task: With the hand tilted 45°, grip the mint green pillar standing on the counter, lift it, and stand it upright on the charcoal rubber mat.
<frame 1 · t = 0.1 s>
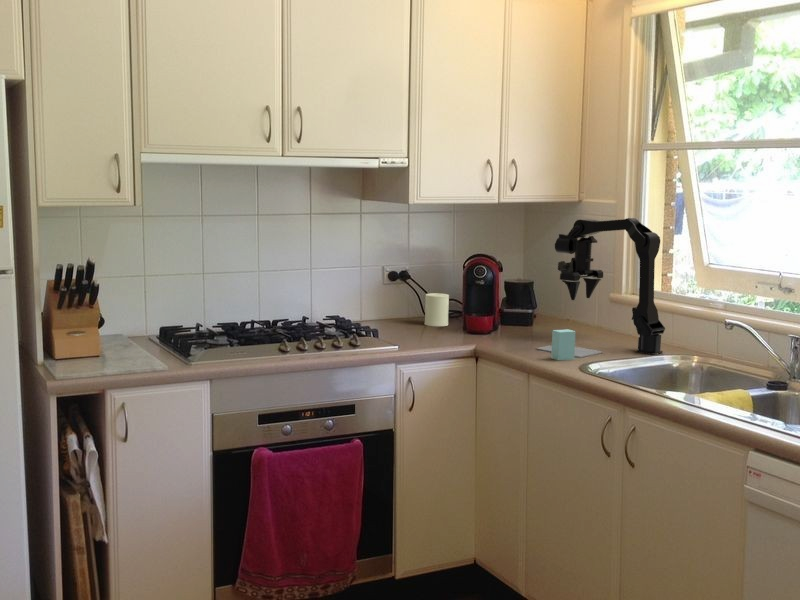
hand: (580, 299, 320), 15 cm above the table, tool pointing down, fingers open, 9 cm apart
placemat: (569, 351, 301), on the table
can: (436, 324, 349), on the table
mint green pillar: (562, 358, 289), on the table
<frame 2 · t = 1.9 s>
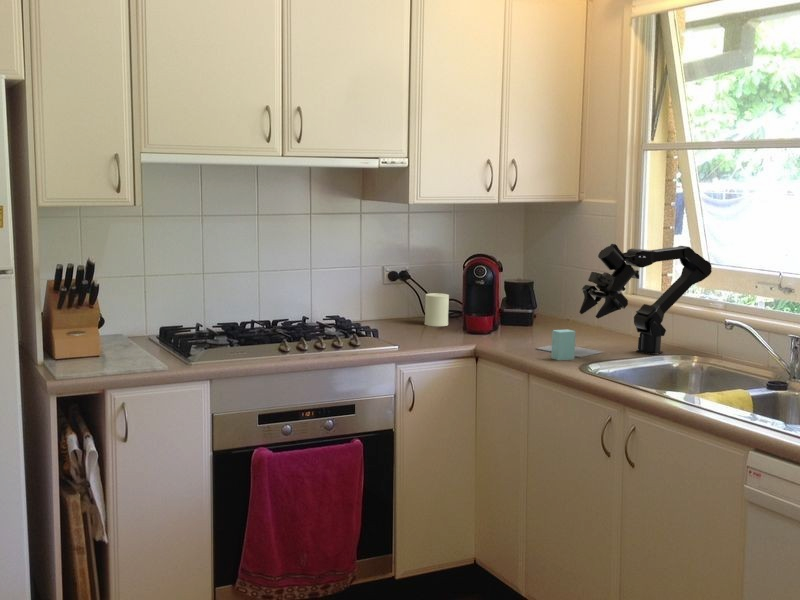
hand: (588, 315, 291), 13 cm above the table, tool tilted 45°, fingers open, 9 cm apart
nothing on the table moved.
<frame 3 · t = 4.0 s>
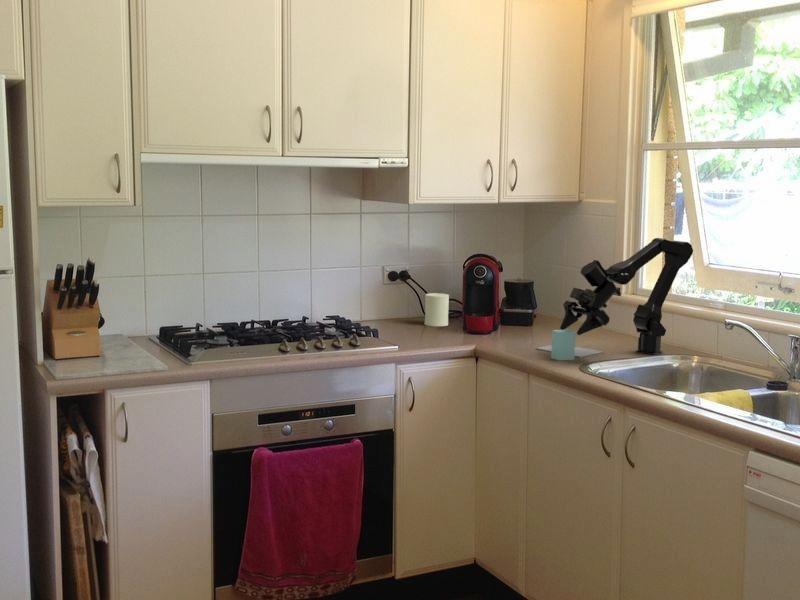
hand: (569, 331, 288), 9 cm above the table, tool tilted 45°, fingers open, 9 cm apart
nothing on the table moved.
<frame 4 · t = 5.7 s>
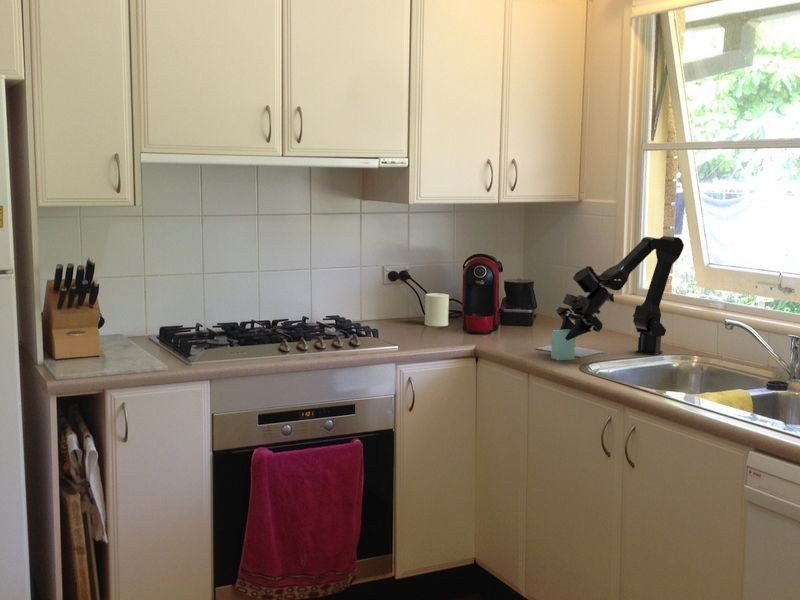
hand: (562, 338, 288), 7 cm above the table, tool tilted 45°, fingers closed on mint green pillar, 4 cm apart
mint green pillar: (562, 358, 289), on the table, touching gripper
everything else where it was.
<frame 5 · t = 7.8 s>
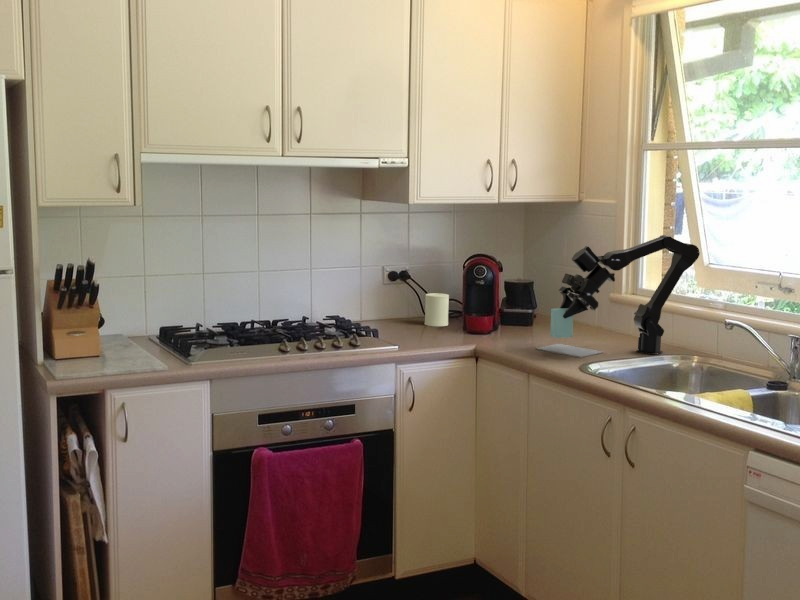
hand: (560, 316, 295), 12 cm above the table, tool tilted 45°, fingers closed on mint green pillar, 4 cm apart
mint green pillar: (561, 336, 296), point 6 cm above the table, touching gripper
everything else where it was.
when the fingers open (8 cm above the table, at t = 9.9 s): mint green pillar drops 1 cm, resting on placemat.
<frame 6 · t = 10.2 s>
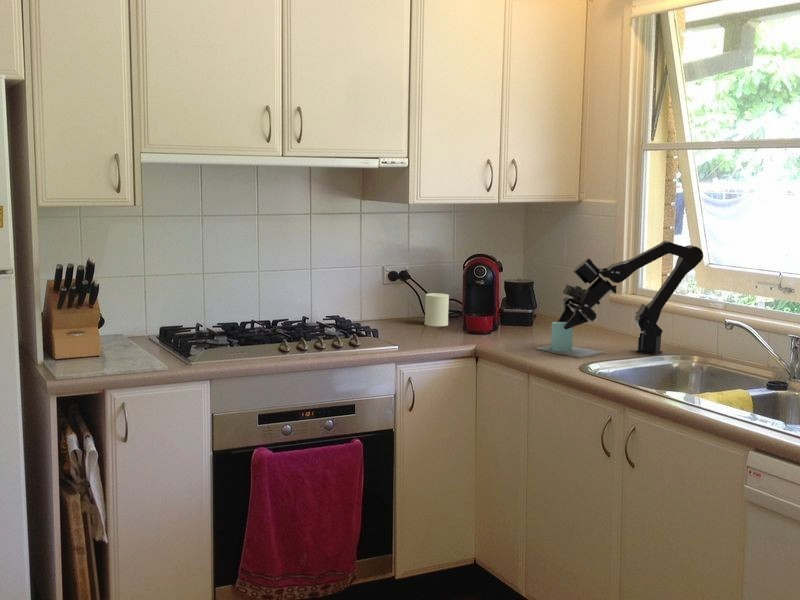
hand: (560, 326, 300), 8 cm above the table, tool tilted 45°, fingers open, 7 cm apart
mint green pillar: (561, 349, 301), resting on placemat
everything else where it was.
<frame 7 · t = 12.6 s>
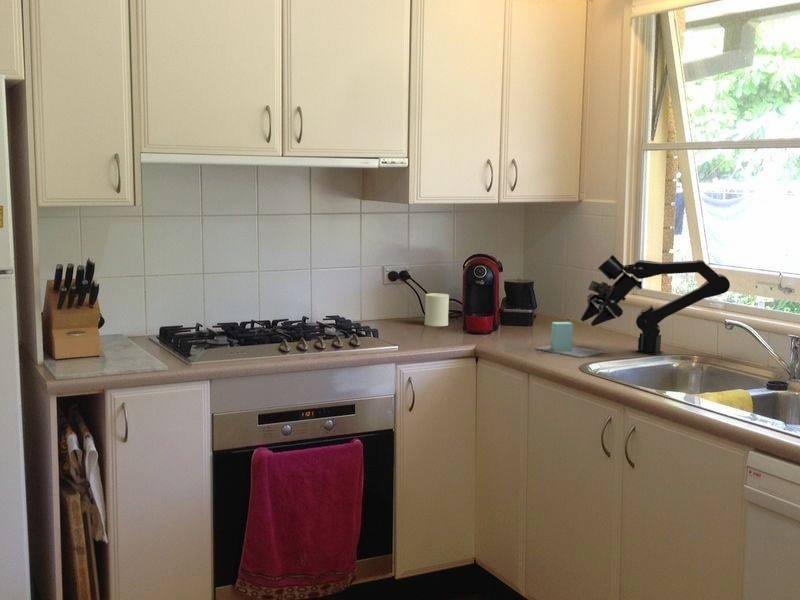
hand: (586, 322, 301), 9 cm above the table, tool tilted 45°, fingers open, 9 cm apart
nothing on the table moved.
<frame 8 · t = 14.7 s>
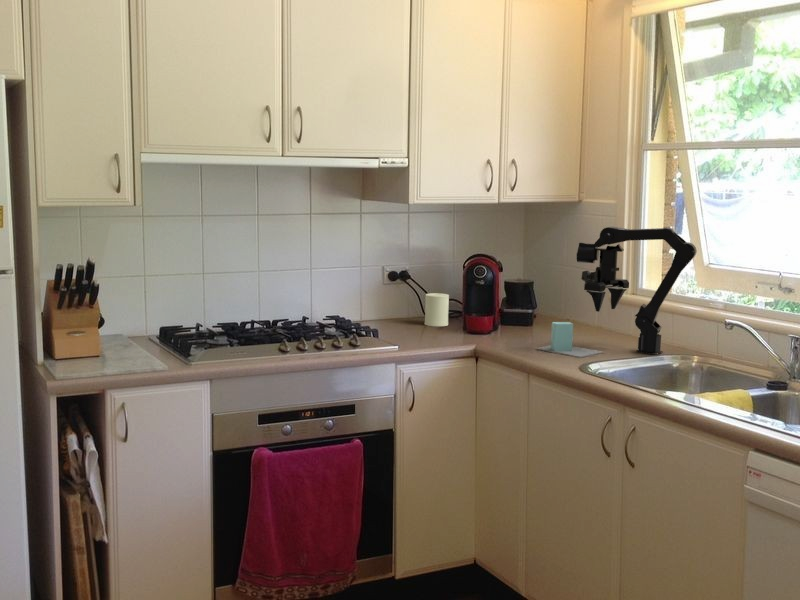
hand: (605, 310, 306), 13 cm above the table, tool pointing down, fingers open, 9 cm apart
nothing on the table moved.
at the end: mint green pillar inside the target area on the placemat (2.7 cm from its centre), point 0.4 cm above the placemat's base; mint green pillar tilted 0°; the gripper is holding nothing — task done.
